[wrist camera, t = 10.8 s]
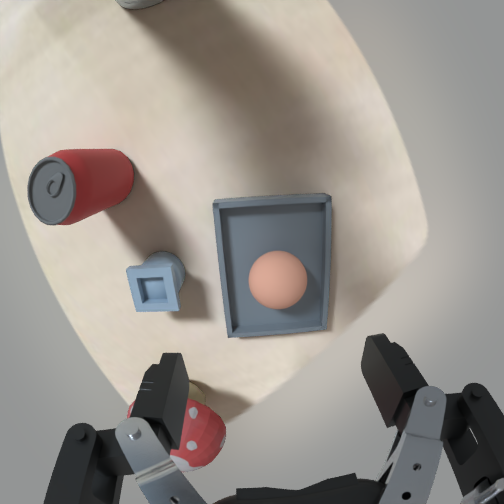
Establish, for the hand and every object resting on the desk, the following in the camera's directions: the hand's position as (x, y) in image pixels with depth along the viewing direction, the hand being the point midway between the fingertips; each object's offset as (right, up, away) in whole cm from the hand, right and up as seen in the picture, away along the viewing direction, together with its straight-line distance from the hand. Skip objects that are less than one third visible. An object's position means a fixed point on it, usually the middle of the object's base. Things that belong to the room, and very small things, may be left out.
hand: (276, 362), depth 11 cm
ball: (+2, +3, +20) cm, 21 cm away
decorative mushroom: (-11, -16, +28) cm, 34 cm away
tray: (+2, +3, +21) cm, 22 cm away
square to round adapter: (-11, +2, +21) cm, 24 cm away
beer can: (-17, +13, +18) cm, 28 cm away
